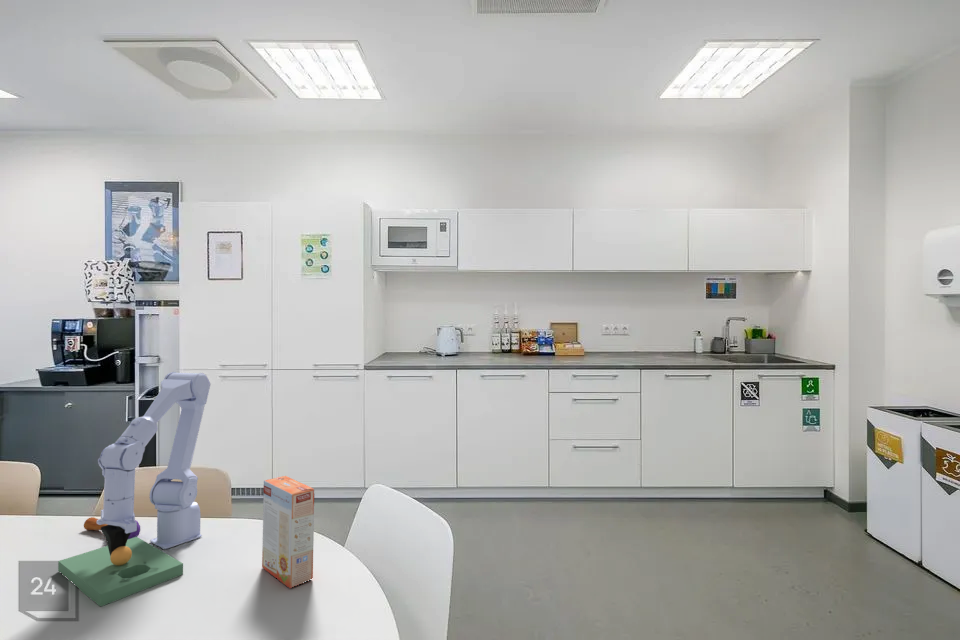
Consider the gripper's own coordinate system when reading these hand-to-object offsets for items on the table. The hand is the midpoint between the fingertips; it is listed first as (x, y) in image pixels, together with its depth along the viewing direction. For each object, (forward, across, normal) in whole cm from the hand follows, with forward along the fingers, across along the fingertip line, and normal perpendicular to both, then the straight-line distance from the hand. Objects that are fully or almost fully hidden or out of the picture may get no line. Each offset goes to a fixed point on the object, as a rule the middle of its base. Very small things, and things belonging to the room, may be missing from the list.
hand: (116, 556), depth 116 cm
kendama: (+4, -24, +7) cm, 25 cm away
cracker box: (+4, +31, +23) cm, 39 cm away
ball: (0, +2, 0) cm, 2 cm away
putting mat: (+4, 0, +1) cm, 4 cm away
